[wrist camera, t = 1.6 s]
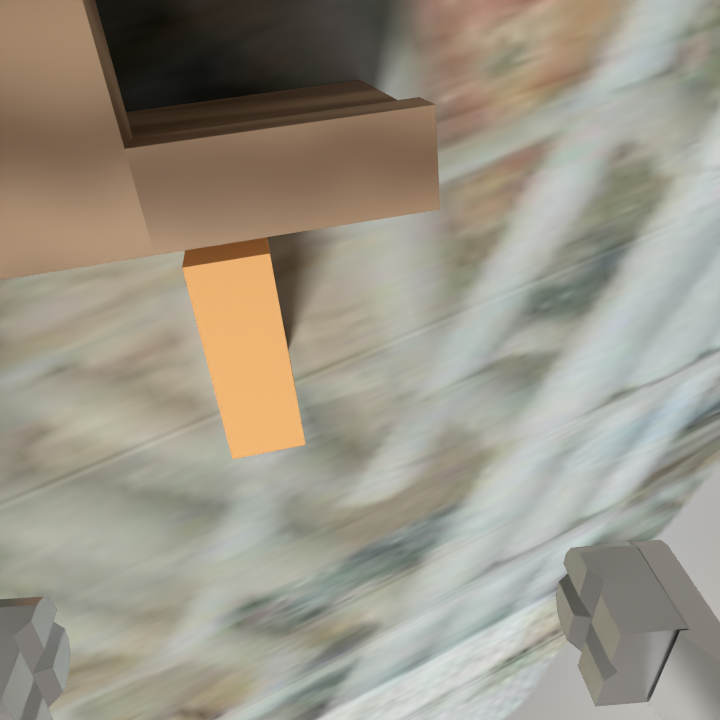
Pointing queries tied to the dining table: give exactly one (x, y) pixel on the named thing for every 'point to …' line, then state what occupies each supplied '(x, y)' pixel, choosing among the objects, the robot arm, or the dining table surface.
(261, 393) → the wooden arch block
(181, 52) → the dining table surface
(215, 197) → the notched shelf
